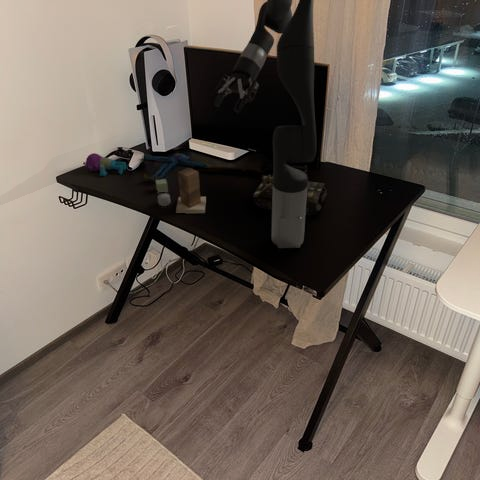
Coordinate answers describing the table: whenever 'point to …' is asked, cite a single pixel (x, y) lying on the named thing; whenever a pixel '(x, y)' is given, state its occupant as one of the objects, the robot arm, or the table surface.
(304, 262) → the table surface
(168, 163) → the toy character
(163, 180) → the sage cube
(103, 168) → the toy
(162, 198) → the grey rubber puck
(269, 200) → the model tank
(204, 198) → the birch coaster
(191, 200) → the walnut post
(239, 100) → the robot arm
